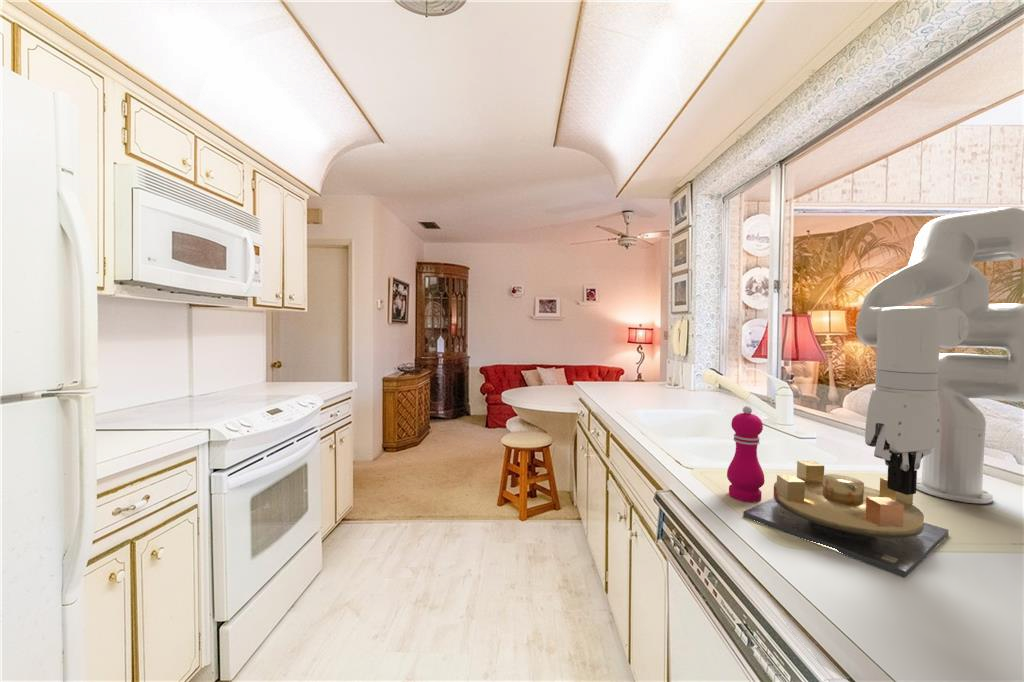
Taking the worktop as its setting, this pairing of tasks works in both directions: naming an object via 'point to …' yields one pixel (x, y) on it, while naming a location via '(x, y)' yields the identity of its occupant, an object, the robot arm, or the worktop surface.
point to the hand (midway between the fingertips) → (901, 491)
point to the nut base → (854, 539)
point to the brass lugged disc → (847, 503)
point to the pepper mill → (746, 458)
